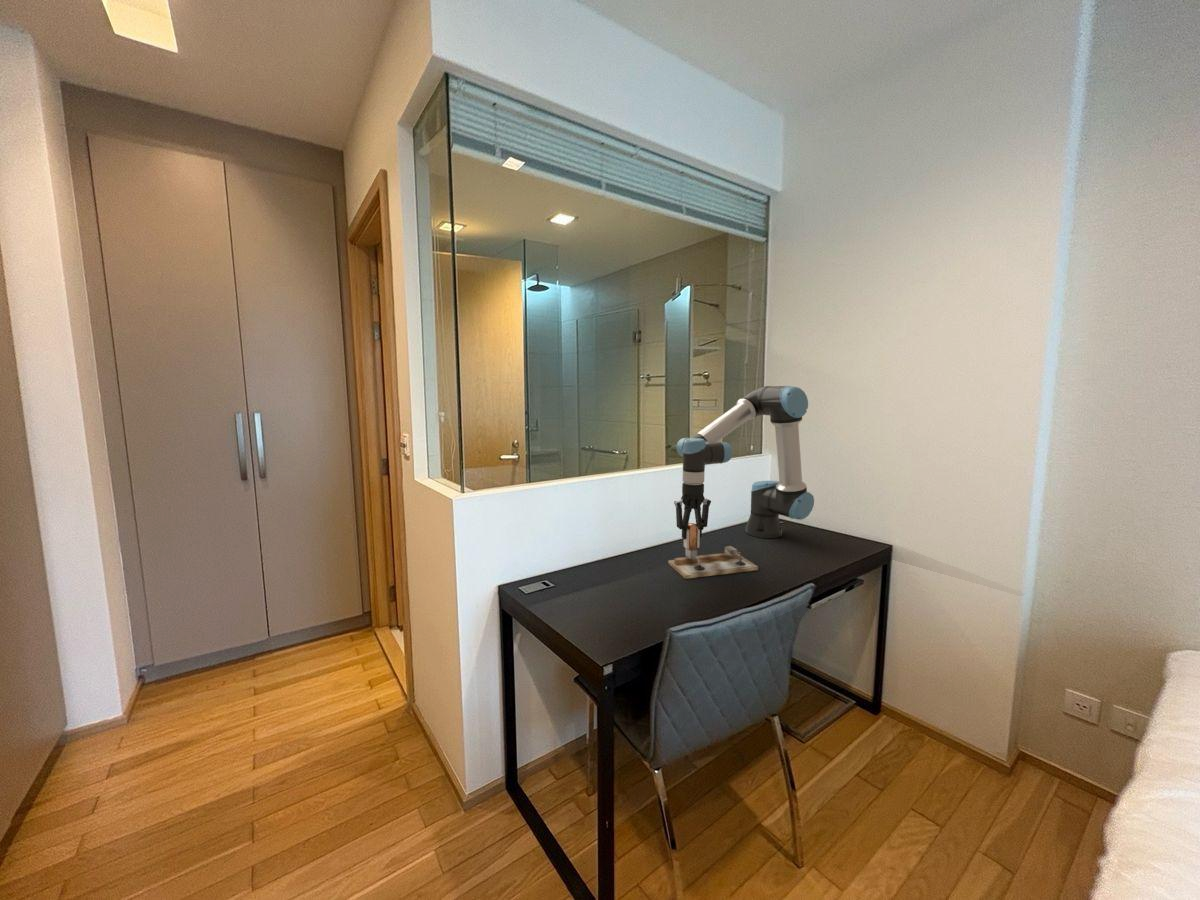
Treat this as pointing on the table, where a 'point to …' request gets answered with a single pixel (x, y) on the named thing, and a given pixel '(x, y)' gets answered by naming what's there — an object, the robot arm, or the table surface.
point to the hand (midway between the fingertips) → (691, 546)
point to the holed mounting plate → (713, 564)
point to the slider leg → (692, 543)
